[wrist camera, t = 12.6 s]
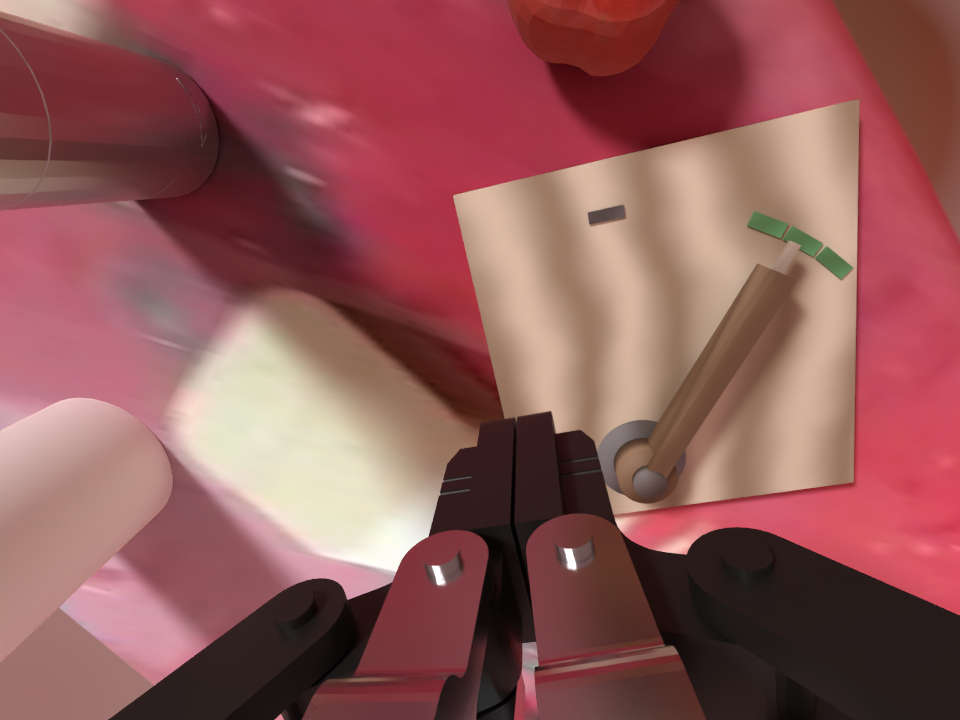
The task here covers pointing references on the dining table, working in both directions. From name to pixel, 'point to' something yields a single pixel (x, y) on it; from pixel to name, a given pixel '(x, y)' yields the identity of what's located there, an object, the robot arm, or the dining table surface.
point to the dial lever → (703, 384)
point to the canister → (70, 503)
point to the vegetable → (591, 31)
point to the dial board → (682, 299)
